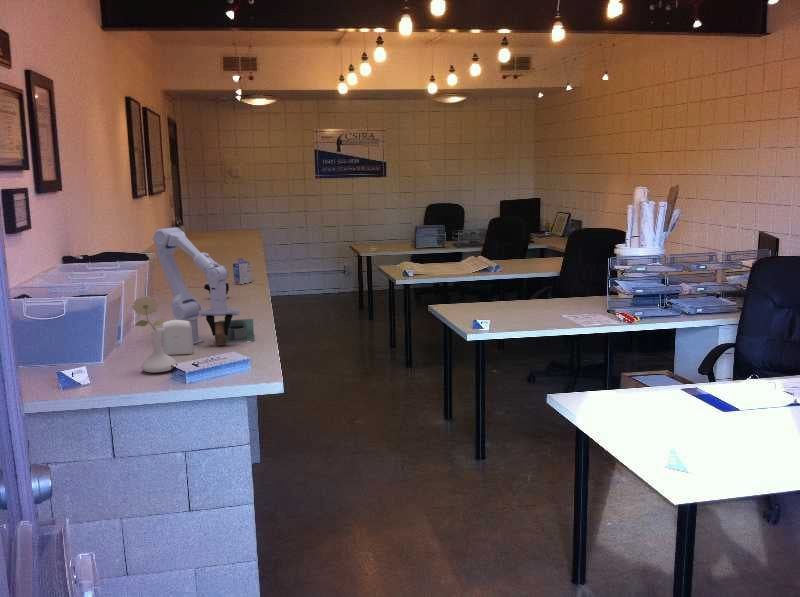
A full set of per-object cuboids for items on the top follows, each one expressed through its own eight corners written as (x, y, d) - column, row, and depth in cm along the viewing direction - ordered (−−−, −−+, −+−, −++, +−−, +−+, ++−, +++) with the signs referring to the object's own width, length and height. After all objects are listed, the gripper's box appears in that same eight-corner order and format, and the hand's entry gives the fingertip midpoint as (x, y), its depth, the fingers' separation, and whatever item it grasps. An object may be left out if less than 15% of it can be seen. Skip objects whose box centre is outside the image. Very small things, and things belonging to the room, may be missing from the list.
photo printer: (162, 355, 259) (160, 321, 257) (165, 352, 263) (162, 319, 261) (192, 354, 260) (190, 320, 257) (194, 351, 264) (192, 318, 262)
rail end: (220, 345, 269) (219, 324, 268) (213, 343, 272) (211, 322, 270) (228, 343, 273) (227, 322, 271) (220, 341, 275) (219, 320, 273)
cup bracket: (254, 341, 279) (254, 324, 277) (219, 343, 276) (218, 326, 275) (253, 335, 289) (252, 318, 287) (219, 337, 286) (218, 320, 284)
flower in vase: (181, 365, 246) (176, 292, 241) (172, 375, 234) (167, 298, 230) (142, 366, 245) (136, 293, 241) (131, 375, 234) (125, 299, 229)
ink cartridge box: (245, 282, 426) (244, 257, 423) (252, 282, 423) (251, 257, 421) (233, 284, 418) (232, 259, 415) (240, 285, 415) (239, 259, 412)
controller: (229, 299, 369) (228, 280, 367) (204, 300, 367) (203, 281, 365) (229, 298, 373) (228, 278, 371) (205, 299, 371) (203, 279, 369)
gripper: (239, 296, 274) (241, 331, 276) (200, 297, 272) (202, 333, 275) (237, 299, 267) (239, 336, 269) (197, 301, 265) (199, 337, 268)
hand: (220, 334), depth 272 cm, fingers closed on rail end, 4 cm apart
